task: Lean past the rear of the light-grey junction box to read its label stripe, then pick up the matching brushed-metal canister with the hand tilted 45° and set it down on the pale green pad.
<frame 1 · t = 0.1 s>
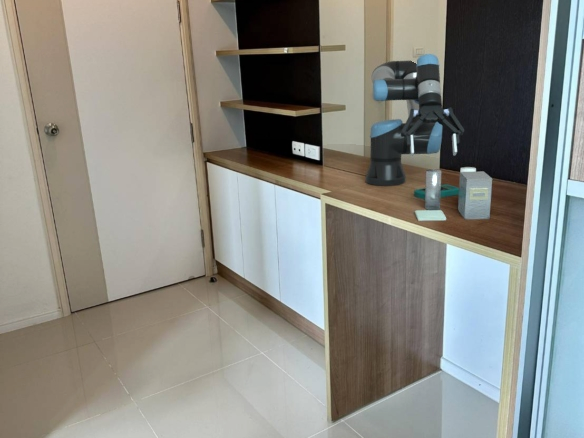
hand: (433, 154, 175), 15 cm above the countertop, tool tilted 35°, fingers open, 13 cm apart
cream canister: (466, 205, 171), on the countertop
junction box: (473, 214, 162), on the countertop
pad: (430, 216, 161), on the countertop
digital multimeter: (436, 196, 185), on the countertop
metal canister: (432, 208, 169), on the countertop
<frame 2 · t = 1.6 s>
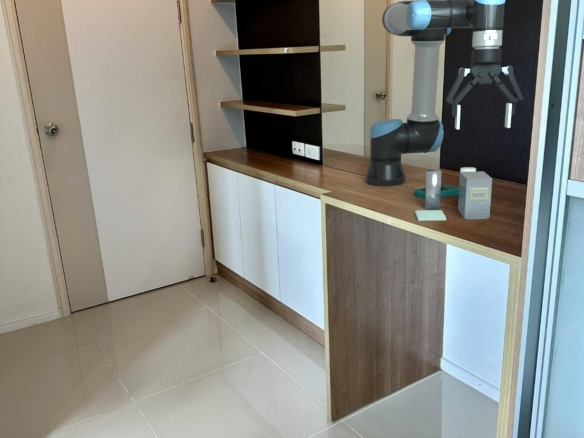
hand: (482, 128, 150), 26 cm above the countertop, tool pointing down, fingers open, 13 cm apart
nothing on the countertop moved.
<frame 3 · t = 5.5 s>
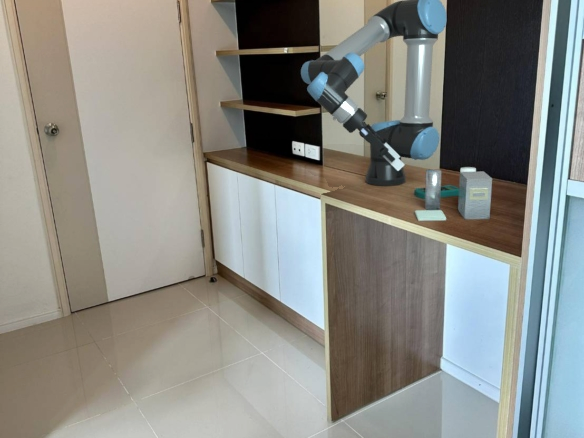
hand: (399, 163, 166), 15 cm above the countertop, tool tilted 45°, fingers open, 13 cm apart
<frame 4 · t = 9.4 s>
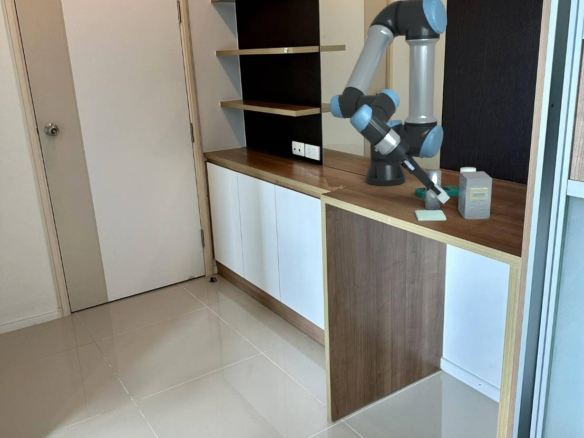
hand: (444, 198, 168), 3 cm above the countertop, tool tilted 45°, fingers closed on metal canister, 5 cm apart
metal canister: (432, 208, 169), on the countertop, touching gripper
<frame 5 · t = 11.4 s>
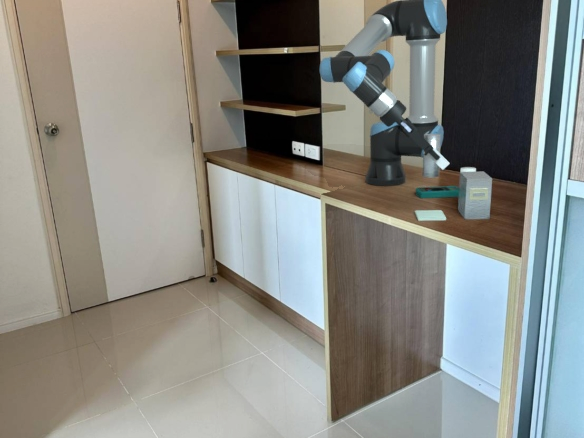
hand: (444, 164, 156), 16 cm above the countertop, tool tilted 45°, fingers closed on metal canister, 5 cm apart
metal canister: (430, 175, 158), point 12 cm above the countertop, touching gripper
when the fingers open (5 cm above the countertop, at t = 13.6 s): metal canister drops 1 cm, resting on pad.
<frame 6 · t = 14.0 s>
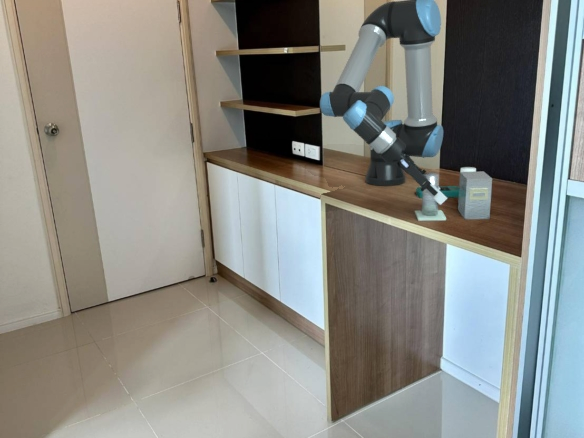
hand: (440, 196, 159), 6 cm above the countertop, tool tilted 45°, fingers open, 11 cm apart
metal canister: (429, 213, 161), point 1 cm above the countertop, touching pad
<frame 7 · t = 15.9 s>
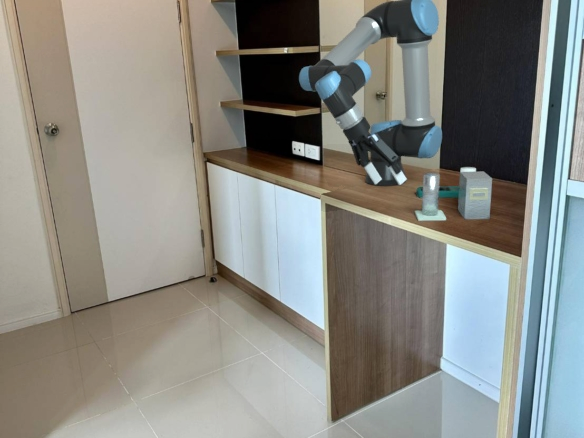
hand: (390, 182, 161), 10 cm above the countertop, tool tilted 30°, fingers open, 13 cm apart
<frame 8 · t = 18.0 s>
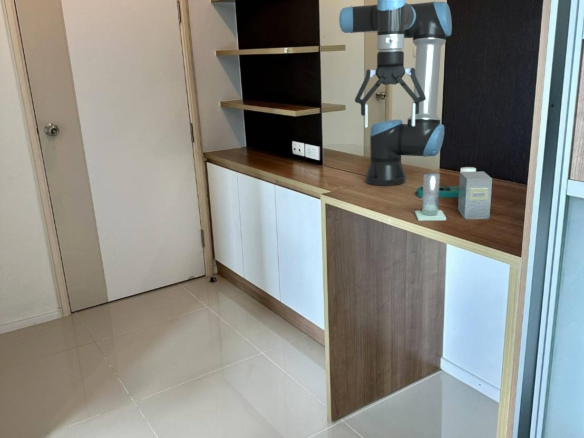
hand: (389, 126, 159), 27 cm above the countertop, tool pointing down, fingers open, 13 cm apart
at the end: metal canister inside the target area on the pad (0.1 cm from its centre), point 0.8 cm above the pad's base; metal canister tilted 1°; the gripper is holding nothing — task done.
